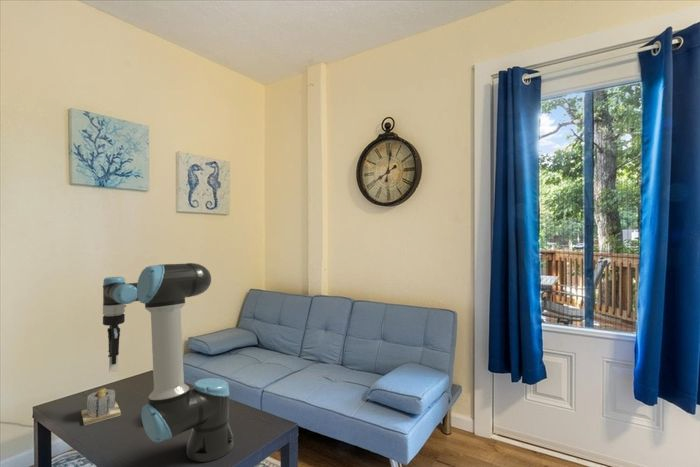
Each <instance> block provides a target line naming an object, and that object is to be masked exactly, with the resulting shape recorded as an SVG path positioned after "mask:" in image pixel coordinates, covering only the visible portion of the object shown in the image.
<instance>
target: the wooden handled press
mask: <svg viewBox="0 0 700 467" xmlns="http://www.w3.org/2000/svg"><path fill="white" fill-rule="evenodd" d="M106 390H107V388H106V387H100V388H98V389H97V390H96V391H97V397H102V396H105V395H106ZM80 414H81V417H82V423H83V426H84V427H85V426H88V425H91V424H95V423H98V422H102V421H105V420H108V419H109V420H111V419H114V418H116V417H120V416H122V412H121V409H120V406H119V405H118V403H117V401H115V410H114V411H113V412H111V413H110V414H107V415H105V416H101V417H98V416H97V417H89V416H88V415H87V408H86V409H82V410H81V413H80Z"/></svg>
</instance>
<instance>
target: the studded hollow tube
mask: <svg viewBox="0 0 700 467" xmlns="http://www.w3.org/2000/svg"><path fill="white" fill-rule="evenodd" d="M86 398H87V403H86V404H87V405H86V406H87V408H86V409H87V415H88V416H89V417H97V416H98V417H101V416H105V415H107V414H110V413H111V412H113V411H114V410H115V402H116V391H115V389H108V388H106V395H105V396H102V397H97V390H96V391H95V392H92V393H90V394H89V395H88V396H87V397H86Z"/></svg>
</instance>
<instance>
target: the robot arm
mask: <svg viewBox="0 0 700 467" xmlns="http://www.w3.org/2000/svg"><path fill="white" fill-rule="evenodd" d="M211 284H212V276H211V272H210V271H209V270H208V268H206V266H204V265H201V264H200V263H193V262H187V263H168V264H167V263H164V264H160V263H159V264H156V265H155V264H153V265H149V266H146V267H145V268H143V270H142V271H141V273H140V275H139V276H138V279H137V282H130V283H128V282H127V283H126V278H125V277H123V276H107V277H105V278H104V279H103V285H102V288H103V289H102V293H103V294H102V295H103V296H102V297H103V298H102V300H103V301H102V315H103V316H102V325H103V326H105V327H106V326H107V327H109V328H107V334H108V335H107V338H108V339H107V340H108V351H107V352H108V353H109V354H108V355H107V357H108V358H109V362H108V365H109V366H108V372H109V373H113V372H118V370H119V369H118V365H119V364H118V362H119V361H118V357H119V356H118V355H119V353H120V350H119V349H120V336H121V328H120V326H119V325H121V324H124V323H125V315H126V314H125V311H126V310H125V309H126V308H127V305H128V304H132V303H134V302H139V303H141V304H144V308H145V310H147V311H148V312H149V313H150V323H151V324H150V325H151V346H152V348H151V350H152V371H153V372H152V375H153V376H152V377H153V390H152V391H151V393H150V394H149V395H148V403H146V404H145V405H144V406H142V407H141V414H140V415H141V421H142V422H141V423H142V426H143V428H144V432H145V434H146V435H147V437H148V438H149V439H150V440H151V441H152V442H154V443H160V442H163V441H166V440H170V439H172V438H173V437H176V436H178V435H180V434H183V433H185V432H187V431H189V430H191V433H190V435H189V438H188V441H187V444H186V456H187V458H188V459H190V460H191V461H194V462H199V463H200V462H201V463H202V462H203V463H205V462H211V461H215V460H218V459H220V458H222V457H224V456H226V455H227V454H228V453H230V452H231V450H232V449H233V447H234V435H233V432H232V429H231V425H230V422H229V421H230V420H229V413H230V412H229V411H230V409H229V408H230V404H229V403H230V395H231V393H230V388H229V386H230V385H229V383H228V382H227V381H226V380H224V379H223V378H222V379H221V378H215V377H210V378H209V377H208V378H202V379H198V380H196V381H195V382H193V385H192V388H191V389H190V386H188V385H187V384H186V383H185V380H184V379H185V376H184V357H183V356H184V353H183V337H182V336H183V334H182V332H183V331H182V316H181V315H182V313H181V312H182V311H181V309H182V308H183V307H184V305H186V298H191V297H197V296H199V295H202V294H204V293H205V292H206V291H207V290H209V287H210V286H211Z"/></svg>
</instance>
